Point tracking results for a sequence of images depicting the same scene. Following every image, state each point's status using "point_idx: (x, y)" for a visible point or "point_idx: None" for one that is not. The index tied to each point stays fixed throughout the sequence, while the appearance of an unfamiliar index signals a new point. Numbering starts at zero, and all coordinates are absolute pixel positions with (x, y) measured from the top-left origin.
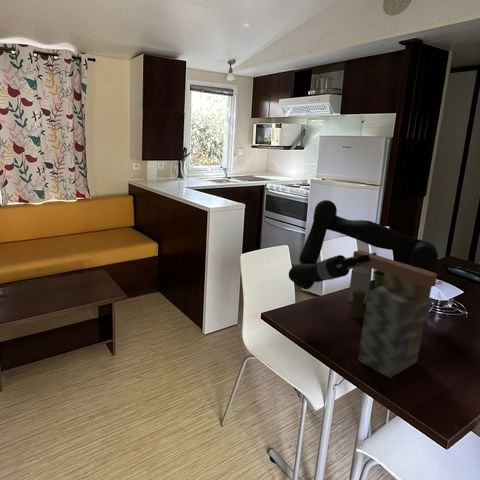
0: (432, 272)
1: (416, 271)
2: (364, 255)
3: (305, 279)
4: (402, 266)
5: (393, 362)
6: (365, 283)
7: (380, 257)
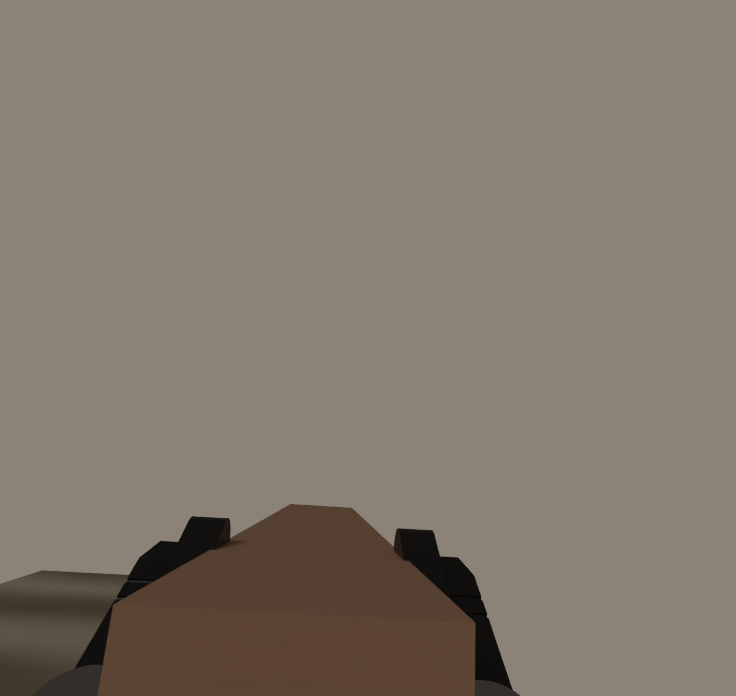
0: (46, 572)
1: (353, 511)
2: (439, 557)
3: None
4: (347, 516)
5: None
6: None
7: (284, 533)
